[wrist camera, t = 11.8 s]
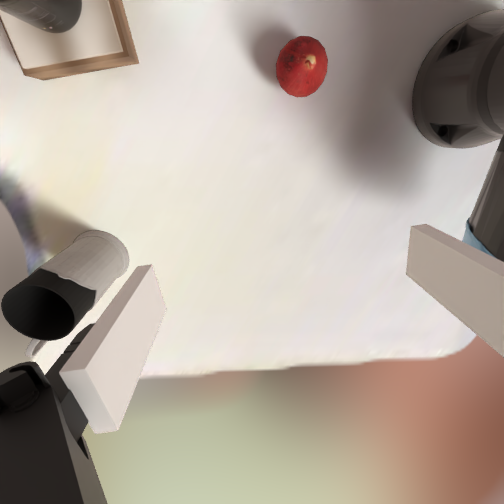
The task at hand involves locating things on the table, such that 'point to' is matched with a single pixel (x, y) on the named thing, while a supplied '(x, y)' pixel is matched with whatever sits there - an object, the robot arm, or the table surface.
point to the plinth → (74, 42)
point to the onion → (301, 66)
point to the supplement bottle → (45, 13)
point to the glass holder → (65, 288)
